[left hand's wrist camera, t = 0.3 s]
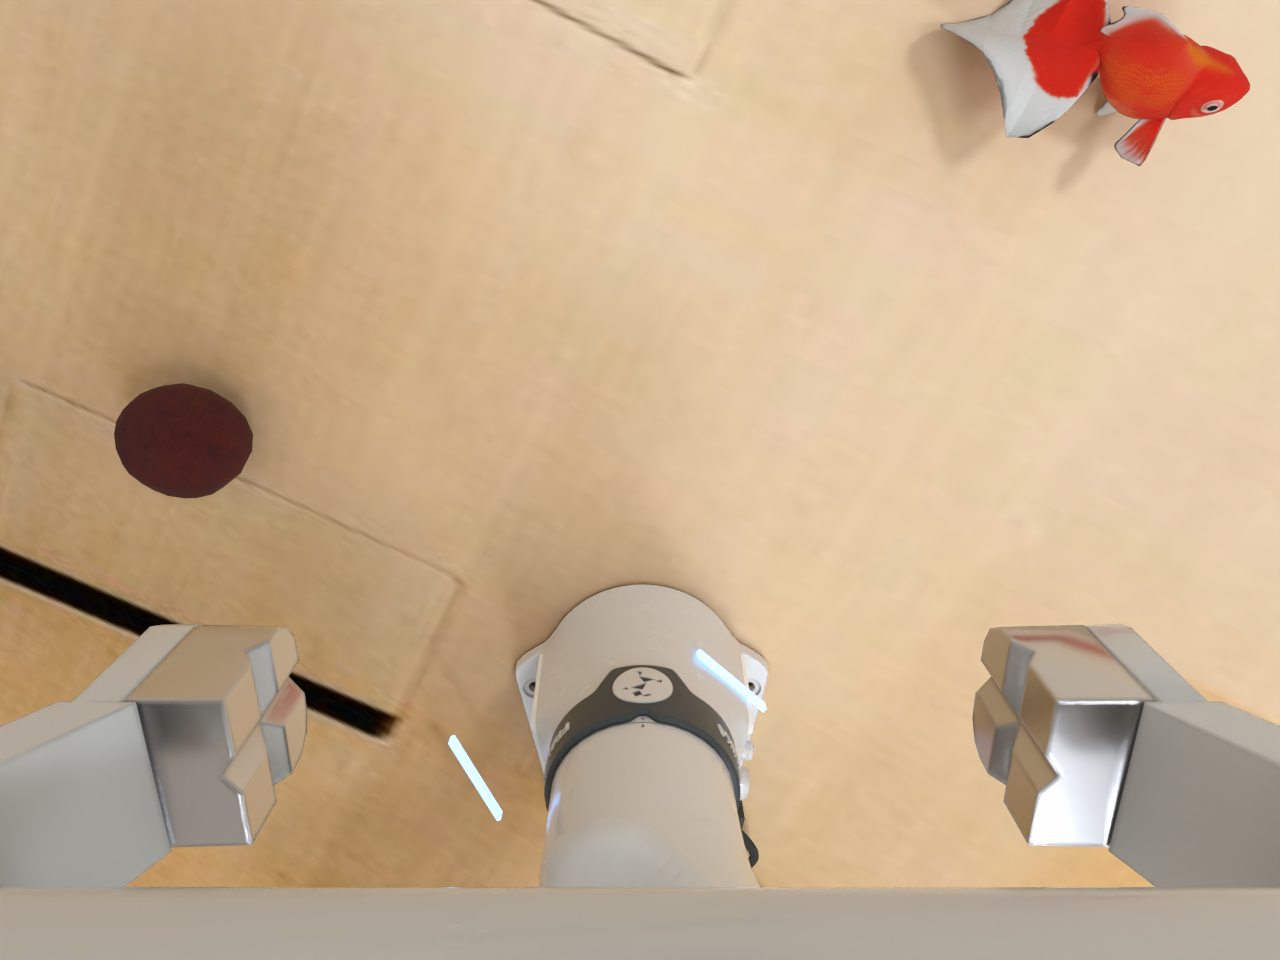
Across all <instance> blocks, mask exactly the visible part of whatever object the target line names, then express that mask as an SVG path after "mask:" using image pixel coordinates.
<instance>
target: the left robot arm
mask: <svg viewBox="0 0 1280 960" xmlns="http://www.w3.org/2000/svg"><path fill="white" fill-rule="evenodd" d="M298 661H299V657H298V652H297V647H296V642H295V637H294V634H293V633H292V632H291V631H290V630H289V629H288V628H287V626H235V625H202V626H201V625H198V624H179V625H158V626H151V627H149V628H148V629H147V630H146V631H145V632H144V633H143V634H142V635H141V636H140V637H139V638H138V639H137V640H136V641H135V642H134V643H133V644H132V645H131V646H130V647H129V648H127V649H126V650H125V651H124V652H123V653H122V654H121V655H120V656H119V657H118V658H117V659H116V660H115V661H114V662H113V663H112V664H111V665H110V666H109V667H108V668H107V669H106V670H105V671H104V672H102V673H101V674H100V675H99V676H98V677H97V678H96V679H95V680H94V681H93V682H92V683H91V684H90V685H89V686H88V687H87V688H86V689H85V690H84V691H83V692H82V693H81V694H80V695H79V696H77V697H76V698H75V699H74V700H73V701H72V702H56V703H54V704H51V705H49V706H47V707H44V708H42V709H40V710H37V711H35V712H32V713H30V714H28V715H25V716H23V717H21V718H18V719H16V720H14V721H11V722H9V723H6V724H4V725H2V726H0V960H1280V726H1278V725H1276V724H1273V723H1271V722H1269V721H1266V720H1264V719H1262V718H1259V717H1257V716H1255V715H1252V714H1250V713H1248V712H1245V711H1243V710H1240V709H1238V708H1236V707H1233V706H1231V705H1229V704H1226V703H1224V702H1208V701H1207V700H1206V699H1205V698H1204V697H1203V696H1202V695H1201V694H1199V693H1198V692H1197V691H1196V690H1195V689H1194V688H1193V687H1192V686H1191V685H1190V684H1189V683H1188V682H1187V681H1186V680H1185V679H1184V678H1183V677H1182V676H1181V675H1180V674H1179V673H1178V672H1177V671H1176V670H1175V669H1174V668H1172V667H1171V666H1170V665H1169V664H1168V663H1167V662H1166V661H1165V660H1164V659H1163V658H1162V657H1161V656H1160V655H1159V654H1158V653H1157V652H1156V651H1155V650H1154V649H1153V648H1152V647H1151V646H1150V645H1149V644H1148V643H1147V642H1145V641H1144V640H1143V639H1142V638H1141V637H1140V636H1139V635H1138V634H1137V633H1136V632H1135V631H1134V630H1133V629H1132V628H1131V627H1128V626H1125V625H1122V624H1104V625H1064V626H1023V627H997V628H990V629H989V632H988V634H987V636H986V638H985V640H984V645H983V651H982V656H981V661H982V663H983V664H984V666H985V667H986V669H987V670H988V672H989V673H990V675H991V677H990V678H989V680H988V681H987V682H986V683H985V684H984V685H983V686H982V687H981V688H980V689H979V690H978V691H977V692H976V694H975V702H974V710H973V727H974V738H975V744H976V747H977V750H978V753H979V756H980V759H981V761H982V763H983V765H984V767H985V768H986V770H987V772H988V774H990V775H991V776H993V777H994V778H996V779H997V780H999V781H1000V782H1002V783H1004V784H1005V785H1006V790H1005V796H1004V803H1005V805H1006V806H1007V808H1008V810H1009V812H1010V813H1011V815H1012V817H1013V819H1014V820H1015V822H1016V824H1017V826H1018V827H1019V829H1020V831H1021V833H1022V834H1023V836H1024V838H1025V840H1026V841H1027V843H1028V845H1045V846H1081V847H1109V850H1108V851H1109V852H1111V853H1112V854H1113V855H1115V856H1116V857H1117V858H1119V859H1120V860H1121V861H1123V862H1124V863H1125V864H1126V865H1128V866H1129V867H1130V868H1132V869H1133V870H1134V871H1136V872H1137V873H1138V874H1140V875H1141V876H1142V877H1143V878H1145V879H1146V880H1147V881H1149V882H1150V883H1151V884H1153V885H1154V886H1155V887H760V886H759V884H758V882H757V880H756V878H755V876H754V874H753V872H752V869H751V868H752V867H753V866H754V865H755V864H756V863H757V861H758V856H759V855H758V850H757V848H756V846H755V845H754V843H753V842H752V840H751V839H750V838H749V837H748V836H747V835H746V834H745V833H744V831H743V830H742V826H743V822H744V812H743V806H742V801H743V800H745V799H746V798H747V794H748V789H749V771H748V769H746V768H744V767H742V765H743V761H751V759H752V756H753V742H752V741H750V737H751V734H752V732H753V727H754V724H755V720H756V717H757V714H758V710H759V709H760V710H761V711H762V712H764V711H765V710H766V706H765V702H764V701H762V697H763V693H764V690H765V686H766V683H767V680H768V665H767V662H766V661H765V659H764V658H763V657H762V656H761V655H759V654H758V653H756V652H755V651H753V650H752V649H750V648H748V647H747V646H745V645H743V644H741V643H739V642H738V641H737V640H736V639H735V638H734V636H733V635H732V634H731V633H730V631H729V630H728V628H727V627H726V625H725V624H724V623H723V621H722V620H721V619H720V618H719V617H718V616H717V614H716V613H715V612H713V611H712V610H711V609H710V608H709V607H708V606H706V605H705V604H704V603H702V602H701V601H699V600H698V599H696V598H694V597H692V596H690V595H688V594H686V593H684V592H681V591H679V590H675V589H672V588H668V587H664V586H658V585H647V584H637V585H626V586H620V587H616V588H612V589H609V590H605V591H603V592H600V593H598V594H596V595H594V596H592V597H590V598H588V599H586V600H585V601H583V602H582V603H580V604H579V605H578V606H576V607H575V608H574V609H573V610H572V611H570V612H569V613H568V614H567V615H566V616H565V618H564V619H563V620H562V621H561V623H560V624H559V625H558V627H557V628H556V629H555V631H554V632H553V634H552V635H551V636H550V637H549V638H548V639H547V640H546V641H545V642H544V643H542V644H540V645H538V646H537V647H535V648H533V649H532V650H530V651H528V652H527V653H525V654H524V655H523V656H522V657H521V658H520V659H519V660H518V661H517V663H516V673H515V675H516V680H517V684H518V687H519V691H520V694H521V698H522V701H523V705H524V708H525V712H526V715H527V719H528V722H529V725H530V729H531V732H532V736H533V739H534V743H535V746H536V750H537V753H538V757H539V760H540V764H541V767H542V771H543V774H544V780H545V787H544V788H545V802H546V808H547V811H548V816H547V824H546V831H545V839H544V846H543V854H542V861H541V868H540V876H539V887H125V886H126V885H128V884H129V883H130V882H132V881H133V880H134V879H136V878H137V877H138V876H139V875H141V874H142V873H143V872H145V871H146V870H147V869H149V868H150V867H151V866H153V865H154V864H155V863H157V862H158V861H159V860H160V859H162V858H163V857H164V856H166V855H167V854H168V853H170V852H171V847H198V846H233V845H252V843H253V842H254V840H255V838H256V836H257V835H258V833H259V831H260V829H261V828H262V826H263V824H264V822H265V820H266V819H267V817H268V815H269V813H270V812H271V810H272V808H273V806H274V805H275V803H276V796H275V790H274V785H275V784H276V783H278V782H280V781H281V780H283V779H284V778H286V777H287V776H289V775H290V774H292V772H293V770H294V768H295V766H296V765H297V763H298V761H299V759H300V757H301V754H302V750H303V745H304V741H305V737H306V733H307V708H306V701H305V694H304V692H303V691H302V690H301V689H300V688H299V687H298V686H297V685H296V684H295V683H294V682H293V681H292V680H291V678H290V677H289V675H290V673H291V672H292V670H293V669H294V667H295V666H296V664H297V663H298ZM532 682H536V684H535V686H533V685H532V684H531V683H532ZM748 682H751V683H753V684H752V685H751V686H749V683H748ZM448 744H449V746H450V747H451V749H452V750H453V752H454V754H455V755H456V757H457V758H458V760H459V761H460V763H461V765H462V766H463V768H464V769H465V771H466V773H467V774H468V776H469V777H470V779H471V781H472V782H473V784H474V785H475V787H476V788H477V790H478V792H479V793H480V795H481V796H482V798H483V800H484V801H485V803H486V804H487V806H488V807H489V809H490V811H491V812H492V814H493V815H494V817H495V819H496V820H497V821H499V820H501V816H502V810H501V808H500V807H499V805H498V804H497V802H496V800H495V799H494V797H493V796H492V794H491V792H490V791H489V789H488V788H487V786H486V784H485V783H484V781H483V780H482V778H481V776H480V775H479V773H478V772H477V770H476V768H475V767H474V765H473V764H472V762H471V760H470V759H469V757H468V756H467V754H466V752H465V751H464V749H463V748H462V746H461V744H460V743H459V741H458V740H457V738H456V736H455V735H453V736H451V737H450V740H449V743H448ZM745 847H746V848H747V850H748V852H749V854H750V857H749V858H748V855H747V852H746V848H745Z"/></svg>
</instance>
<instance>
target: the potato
mask: <svg viewBox="0 0 1280 960" xmlns="http://www.w3.org/2000/svg"><path fill="white" fill-rule="evenodd" d="M114 436H115V445H116V450H117V452H118V455H119V457H120V459H121V462H122V464H123V466H124V467H125V468H126V470H127V471H128V473H129V474H130V475H132V476H133V477H135V478H136V479H137V480H138V481H140V482H141V483H142V484H144V485H146V486H148V487H149V488H151V489H153V490H155V491H157V492H160V493H163V494H165V495H168V496H174V497H181V498H198V497H202V496H207V495H211V494H213V493H215V492H216V491H218V490H219V489H221V488H223V487H224V486H225V485H226V484H228V483H229V482H230V481H231V480H233V479H234V478H235V477H236V476H237V475H239V474H240V473H241V471H242V469H243V467H244V465H245V463H246V461H247V459H248V457H249V455H250V453H251V451H252V438H253V434H252V431H251V429H250V427H249V424H248V422H247V420H246V418H245V417H244V416H243V414H242V413H241V412H240V411H239V410H238V409H237V408H236V407H235V406H234V405H233V404H232V403H231V402H229V401H228V400H226V399H224V398H223V397H221V396H220V395H218V394H216V393H215V392H213V391H211V390H208V389H204V388H200V387H196V386H192V385H188V384H174V385H165V386H161V387H157V388H154V389H151V390H149V391H146V392H144V393H141V394H140V395H138V396H137V397H136V398H135V399H134V400H133V401H131V402H130V403H129V404H128V405H127V406H126V407H125V408H124V409H123V411H122V412H121V414H120V416H119V418H118V419H117V421H116V427H115V433H114Z"/></svg>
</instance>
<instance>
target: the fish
mask: <svg viewBox="0 0 1280 960" xmlns="http://www.w3.org/2000/svg"><path fill="white" fill-rule="evenodd" d="M1122 9H1123V11H1124V17H1123V18H1122V19H1120V20H1119V21H1117V22H1114V23H1111V22H1110V15H1109V9H1108V0H1011V1H1009V2H1008V3H1007V4H1005V5H1004V6H1003V7H1001V8H1000V9H999V10H997V11H996V12H995V13H993V14H992V15H988V16H984V17H980V18H977V19H973V20H969V21H965V22H961V23H945V24H941V26H940V27H941V28H943V29H945V30H948V31H950V32H952V33H955V34H957V35H958V36H960V37H961V38H963V39H964V40H966V41H967V42H969V43H970V44H972V45H973V46H975V47H976V48H978V49H979V50H981V51H982V52H983V54H984V56H985V57H986V59H987V61H988V62H989V64H990V66H991V67H992V69H993V71H994V74H995V77H996V81H997V84H998V87H999V90H1000V93H1001V99H1002V107H1003V114H1004V122H1005V129H1006V137H1016V138H1029V137H1031V136H1032V135H1034V134H1035V133H1037V132H1039V131H1040V130H1042V129H1043V128H1045V127H1047V126H1048V125H1050V124H1051V123H1053V122H1054V121H1056V120H1057V119H1058V118H1059V117H1060V116H1061V115H1062V114H1064V113H1065V112H1066V111H1067V110H1068V109H1069V108H1070V107H1071V106H1072V105H1073V104H1074V103H1075V101H1076V100H1077V99H1078V98H1079V97H1080V96H1081V95H1082V94H1083V92H1084V91H1085V90H1086V89H1087V88H1088V87H1089V85H1090V84H1091V83H1092V82H1093V81H1094V79H1095V78H1100V81H1101V86H1102V90H1103V93H1104V95H1105V97H1106V99H1107V100H1106V102H1105V103H1104V104H1103V106H1102V107H1101V108H1100V109H1099V111H1098V112H1097V114H1098V115H1099V116H1104V115H1108V114H1111V113H1114V112H1117V111H1118V112H1119V113H1121V114H1123V115H1125V116H1128V117H1131V118H1135V119H1140V120H1139V121H1138V122H1137V123H1136V124H1135V125H1134V126H1133V127H1132V128H1131V129H1130V130H1129V131H1128V132H1127V133H1126V134H1125V135H1124V136H1123V137H1122V138H1121V139H1119V140H1118V141H1117V142H1116V143H1115V149H1116V151H1117V152H1118V154H1119V155H1120V156H1121V158H1123V159H1126V160H1128V161H1130V162H1132V163H1134V164H1136V165H1138V166H1140V165H1141V164H1142V163H1143V162H1144V161H1145V159H1146V157H1147V156H1148V154H1149V152H1150V150H1151V148H1152V146H1153V144H1154V142H1155V140H1156V138H1157V135H1158V133H1159V131H1160V129H1161V127H1162V125H1163V123H1164V121H1165V119H1166V118H1169V119H1171V120H1175V119H1181V118H1192V117H1202V116H1206V115H1211V114H1214V113H1217V112H1220V111H1223V110H1225V109H1227V108H1228V107H1230V106H1232V105H1233V104H1235V103H1236V102H1238V101H1239V100H1240V99H1241V98H1242V97H1243V96H1244V95H1245V94H1246V93H1247V92H1248V91H1249V90H1250V83H1249V81H1248V79H1247V77H1246V76H1245V74H1244V73H1243V71H1242V69H1241V68H1240V66H1239V64H1238V63H1237V61H1236V59H1235V58H1234V57H1233V56H1231V55H1229V54H1225V53H1223V52H1221V51H1219V50H1217V49H1214V48H1212V47H1208V46H1200V45H1198V44H1197V43H1196V42H1195V41H1193V40H1192V39H1191V38H1189V37H1187V36H1186V35H1183V34H1182V33H1181V32H1180V31H1179V30H1178V29H1177V28H1176V27H1175V26H1174V25H1173V24H1172V23H1171V22H1170V21H1169V20H1168V19H1167V18H1166V17H1165V16H1164V15H1163V14H1161V13H1158V12H1155V11H1152V10H1149V9H1143V8H1135V7H1127V6H1126V7H1123V8H1122ZM1108 36H1109V37H1108Z"/></svg>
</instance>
